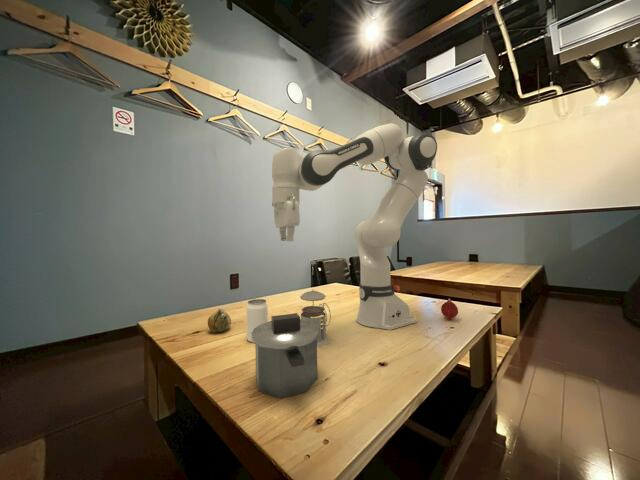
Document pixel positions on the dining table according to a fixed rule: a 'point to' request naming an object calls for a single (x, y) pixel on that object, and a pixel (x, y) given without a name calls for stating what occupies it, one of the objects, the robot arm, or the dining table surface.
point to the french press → (316, 313)
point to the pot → (286, 370)
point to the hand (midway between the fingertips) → (286, 241)
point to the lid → (285, 333)
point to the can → (256, 315)
